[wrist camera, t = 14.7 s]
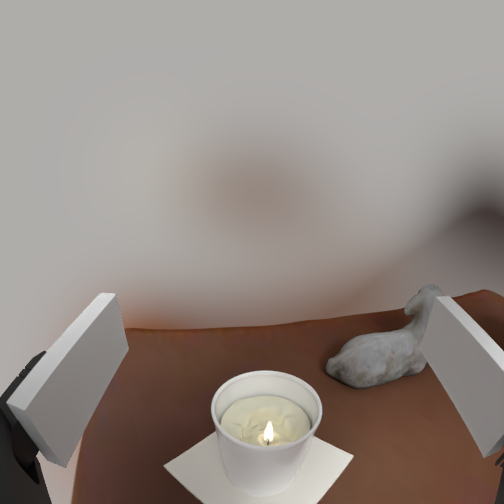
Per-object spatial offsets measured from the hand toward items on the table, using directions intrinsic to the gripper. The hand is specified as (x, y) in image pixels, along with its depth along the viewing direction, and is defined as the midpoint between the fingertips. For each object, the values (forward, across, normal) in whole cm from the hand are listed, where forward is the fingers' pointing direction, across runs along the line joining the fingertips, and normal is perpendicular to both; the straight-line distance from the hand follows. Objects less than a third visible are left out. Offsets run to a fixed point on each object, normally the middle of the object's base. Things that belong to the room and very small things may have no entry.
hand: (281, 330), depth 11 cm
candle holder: (+9, 0, -26) cm, 28 cm away
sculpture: (+27, +21, -27) cm, 44 cm away
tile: (+9, 0, -27) cm, 28 cm away
